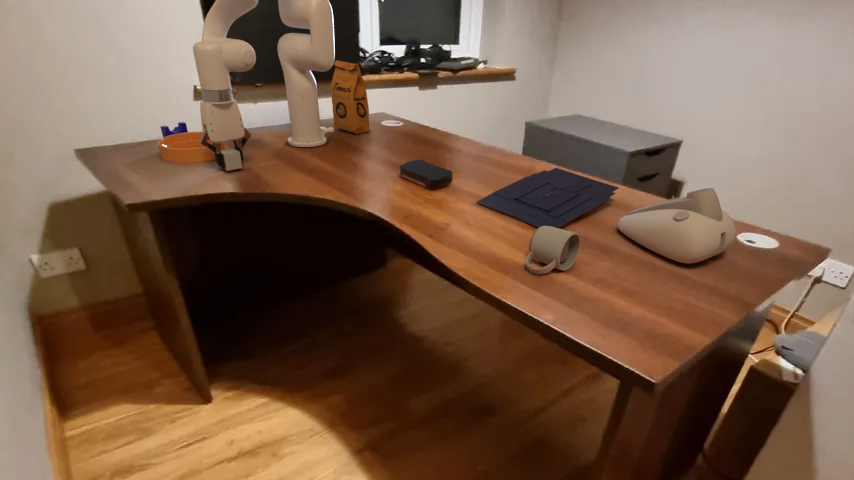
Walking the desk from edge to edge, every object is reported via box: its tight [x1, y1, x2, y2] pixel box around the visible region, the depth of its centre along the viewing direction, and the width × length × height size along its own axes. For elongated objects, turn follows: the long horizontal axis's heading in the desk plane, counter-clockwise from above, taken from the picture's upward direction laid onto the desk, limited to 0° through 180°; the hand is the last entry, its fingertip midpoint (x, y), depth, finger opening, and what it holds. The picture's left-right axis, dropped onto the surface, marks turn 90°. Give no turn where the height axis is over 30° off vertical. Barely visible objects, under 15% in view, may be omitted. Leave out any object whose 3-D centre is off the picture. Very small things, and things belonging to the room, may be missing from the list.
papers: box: [476, 167, 620, 229], centre depth 136 cm, size 24×30×4 cm
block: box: [221, 147, 243, 171], centre depth 149 cm, size 4×4×4 cm
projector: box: [617, 187, 737, 265], centre depth 113 cm, size 22×23×15 cm
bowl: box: [156, 131, 230, 164], centre depth 161 cm, size 19×19×4 cm
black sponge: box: [399, 159, 454, 190], centre depth 148 cm, size 16×8×4 cm, turn 40°
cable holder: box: [160, 121, 189, 138], centre depth 177 cm, size 8×4×4 cm, turn 147°
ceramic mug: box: [525, 226, 581, 275], centre depth 106 cm, size 11×8×8 cm
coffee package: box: [330, 60, 370, 135], centre depth 185 cm, size 10×12×22 cm
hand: (230, 164), depth 150 cm, fingers closed on block, 4 cm apart
